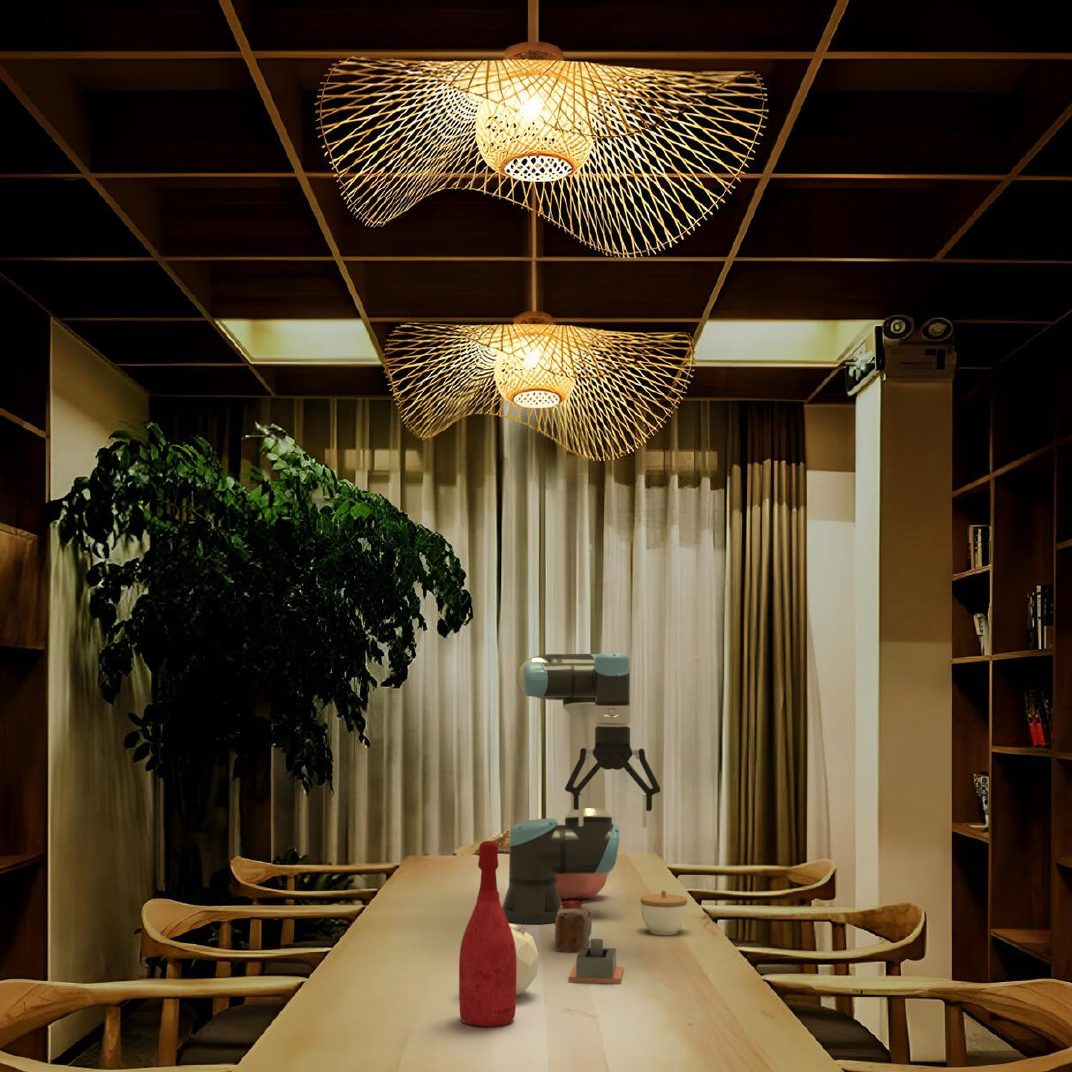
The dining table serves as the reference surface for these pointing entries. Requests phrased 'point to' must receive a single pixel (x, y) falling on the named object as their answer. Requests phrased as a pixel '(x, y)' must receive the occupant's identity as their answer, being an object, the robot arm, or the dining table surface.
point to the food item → (572, 926)
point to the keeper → (617, 978)
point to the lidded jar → (663, 912)
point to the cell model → (580, 885)
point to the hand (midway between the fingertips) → (612, 826)
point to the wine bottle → (487, 953)
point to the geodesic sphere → (524, 958)
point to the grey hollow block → (596, 963)
